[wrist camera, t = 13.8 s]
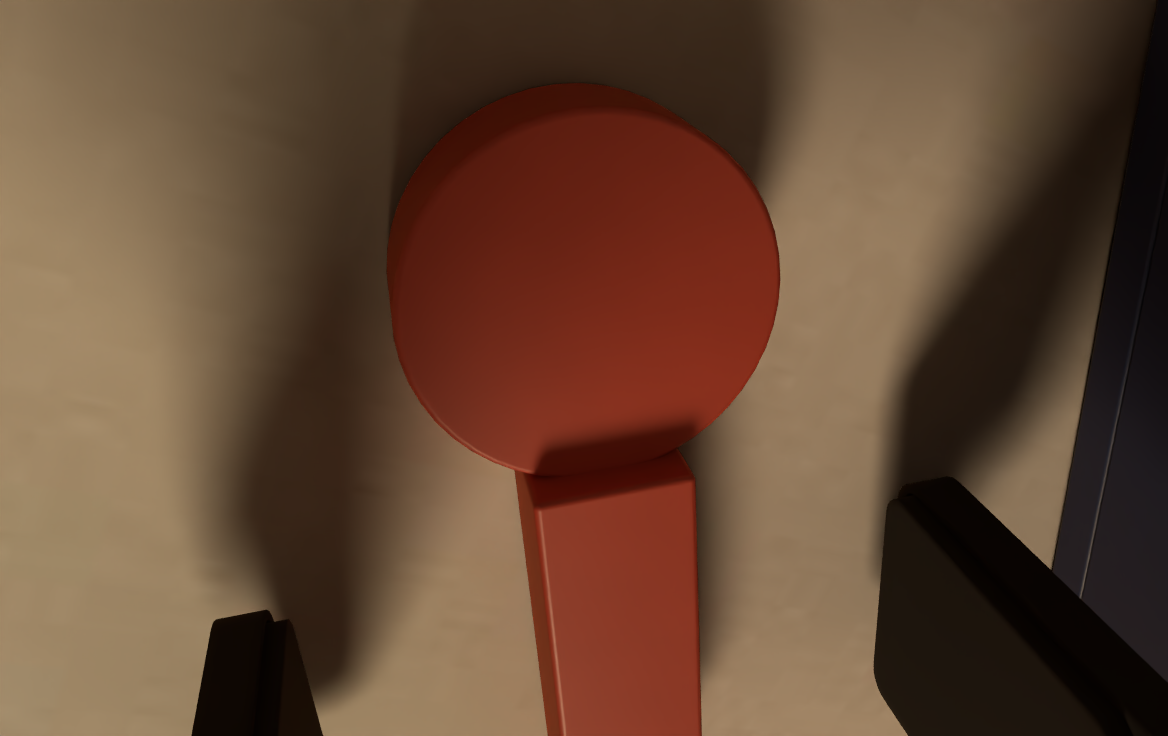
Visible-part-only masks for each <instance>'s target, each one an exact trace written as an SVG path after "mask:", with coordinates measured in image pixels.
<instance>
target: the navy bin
mask: <svg viewBox="0 0 1168 736" xmlns="http://www.w3.org/2000/svg"><path fill="white" fill-rule="evenodd" d="M1052 572H1053V573H1054V574H1055V575H1056V576H1057V577H1058V578H1059V579H1061V580H1062V581H1063V582H1064V583H1065V584H1066V585H1067V586H1068V587H1069V588H1070V589H1071V590H1072V591H1073V592H1074V593H1075V594H1076V595H1077V596H1078V597H1079V598H1080V599H1081V600H1082V601H1083V602H1084V603H1085V604H1087V605H1088V606H1089V607H1090V608H1091V609H1092V610H1093V611H1094V612H1095V613H1096V614H1097V615H1098V616H1099V617H1100V618H1101V619H1102V620H1103V621H1104V622H1105V623H1106V624H1107V625H1108V626H1109V627H1110V628H1111V629H1113V630H1114V631H1115V632H1116V633H1117V634H1118V635H1119V636H1120V637H1121V638H1122V639H1123V640H1124V641H1125V642H1126V643H1127V644H1128V645H1129V646H1130V647H1131V648H1132V649H1133V650H1134V651H1135V652H1136V653H1137V654H1139V655H1140V656H1141V657H1142V658H1143V659H1144V660H1145V661H1146V662H1147V663H1148V664H1149V665H1150V666H1151V667H1152V668H1153V669H1154V670H1155V671H1156V672H1157V673H1158V674H1159V675H1160V676H1161V677H1162V678H1163V679H1165V680H1166V681H1167V682H1168V0H1158V2H1157V7H1156V12H1155V18H1154V23H1153V29H1152V34H1151V40H1150V45H1149V50H1148V56H1147V61H1146V67H1145V72H1144V77H1143V83H1142V88H1141V94H1140V99H1139V105H1138V110H1137V115H1136V121H1135V126H1134V132H1133V137H1132V142H1131V148H1130V153H1129V159H1128V164H1127V170H1126V175H1125V180H1124V186H1123V191H1122V197H1121V202H1120V208H1119V213H1118V218H1117V224H1116V229H1115V235H1114V240H1113V245H1112V251H1111V256H1110V262H1109V267H1108V273H1107V278H1106V283H1105V289H1104V294H1103V300H1102V305H1101V310H1100V316H1099V321H1098V327H1097V332H1096V338H1095V343H1094V348H1093V354H1092V359H1091V365H1090V370H1089V375H1088V381H1087V386H1086V392H1085V397H1084V403H1083V408H1082V413H1081V419H1080V424H1079V430H1078V435H1077V440H1076V446H1075V451H1074V457H1073V462H1072V468H1071V473H1070V478H1069V484H1068V489H1067V495H1066V500H1065V505H1064V511H1063V516H1062V522H1061V527H1060V533H1059V538H1058V543H1057V549H1056V554H1055V560H1054V565H1053V571H1052Z"/></svg>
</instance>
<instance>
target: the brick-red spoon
mask: <svg viewBox="0 0 1168 736" xmlns="http://www.w3.org/2000/svg"><path fill="white" fill-rule="evenodd" d="M387 280H388V290H389V299H390V309H391V318H392V328H393V337H394V342H395V346H396V349H397V353H398V357H399V361H400V364H401V366H402V369H403V371H404V373H405V376H406V378H407V381H408V383H409V385H410V386H411V388H412V390H413V391H414V393H415V395H416V396H417V398H418V400H419V401H420V403H421V405H422V406H423V407H424V408H425V409H426V411H427V412H428V413H429V414H430V416H431V417H432V418H433V419H434V421H435V422H436V423H437V424H438V425H440V426H441V427H442V428H443V429H444V430H445V431H446V432H447V433H448V434H449V435H450V436H451V437H452V438H454V439H455V440H457V441H458V442H460V443H461V444H462V445H464V446H465V447H467V448H468V449H470V450H471V451H473V452H475V453H477V454H478V455H480V456H482V457H484V458H486V459H488V460H490V461H492V462H494V463H497V464H499V465H502V466H505V467H508V468H510V469H513V470H515V477H516V485H517V493H518V501H519V509H520V517H521V525H522V533H523V541H524V549H525V557H526V565H527V573H528V581H529V589H530V597H531V605H532V613H533V621H534V629H535V637H536V645H537V653H538V661H539V669H540V677H541V685H542V693H543V701H544V709H545V717H546V725H547V733H548V736H702V725H701V684H700V643H699V602H698V562H697V521H696V480H695V477H694V475H693V473H692V471H691V470H690V468H689V466H688V465H687V463H686V461H685V460H684V458H683V456H682V455H681V453H680V451H679V450H678V447H679V446H681V445H683V444H684V443H686V442H687V441H689V440H690V439H692V438H693V437H695V436H696V435H697V434H698V433H700V432H701V431H702V430H704V429H705V428H706V427H707V426H709V425H710V424H711V423H712V422H713V421H714V420H715V419H716V418H717V417H718V416H719V415H720V414H721V413H722V412H723V411H724V410H725V409H726V408H727V407H728V406H729V405H730V404H731V402H732V401H733V400H734V399H735V398H736V396H737V395H738V394H739V393H740V391H741V390H742V389H743V387H744V386H745V384H746V383H747V381H748V380H749V378H750V377H751V375H752V373H753V372H754V370H755V369H756V367H757V365H758V363H759V360H760V358H761V356H762V354H763V352H764V350H765V348H766V345H767V343H768V340H769V337H770V334H771V331H772V328H773V325H774V320H775V316H776V311H777V307H778V300H779V288H780V263H779V251H778V246H777V241H776V235H775V231H774V228H773V225H772V222H771V219H770V216H769V213H768V210H767V207H766V205H765V204H764V202H763V200H762V198H761V196H760V194H759V192H758V190H757V188H756V186H755V185H754V183H753V182H752V181H751V179H750V178H749V176H748V175H747V174H746V172H745V171H744V169H743V168H742V167H741V166H740V165H739V164H738V163H737V162H736V161H735V160H734V158H733V157H732V156H731V155H730V154H729V153H728V152H727V151H726V150H725V149H723V148H722V147H721V146H719V145H718V144H717V143H716V142H714V141H713V140H712V139H710V138H709V137H708V136H707V135H705V134H704V133H702V132H701V131H699V130H698V129H696V128H695V127H693V126H692V125H690V124H689V123H687V122H686V121H684V120H683V119H682V118H680V117H679V116H677V115H676V114H674V113H673V112H671V111H670V110H668V109H666V108H664V107H662V106H661V105H659V104H657V103H655V102H654V101H652V100H650V99H648V98H645V97H643V96H640V95H637V94H635V93H632V92H630V91H627V90H623V89H618V88H614V87H610V86H605V85H597V84H586V83H567V84H552V85H547V86H542V87H536V88H531V89H527V90H524V91H521V92H518V93H515V94H512V95H509V96H506V97H503V98H501V99H499V100H497V101H495V102H493V103H491V104H489V105H487V106H485V107H483V108H481V109H480V110H478V111H476V112H475V113H473V114H472V115H470V116H469V117H467V118H466V119H464V120H463V121H461V122H460V123H459V124H458V125H456V126H455V127H454V128H453V129H452V130H451V131H450V132H448V133H447V134H446V135H445V136H444V137H443V138H442V139H440V141H439V142H438V143H437V144H436V145H435V146H434V147H433V149H432V150H431V151H430V152H429V153H428V154H427V155H426V157H425V158H424V159H423V161H422V162H421V164H420V165H419V167H418V168H417V170H416V171H415V173H414V174H413V176H412V177H411V179H410V180H409V182H408V184H407V187H406V189H405V191H404V193H403V195H402V197H401V199H400V201H399V204H398V207H397V210H396V213H395V216H394V219H393V222H392V226H391V231H390V237H389V242H388V248H387Z"/></svg>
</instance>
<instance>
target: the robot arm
mask: <svg viewBox="0 0 1168 736" xmlns="http://www.w3.org/2000/svg"><path fill="white" fill-rule="evenodd" d="M874 675H875V679H876V683H877V686H878V689H879V691H880V693H881V695H882V697H883V698H884V700H885V702H886V703H887V705H888V706H889V708H890V709H891V711H892V712H893V714H894V715H895V717H896V718H897V720H898V721H899V723H900V724H901V726H902V727H903V729H904V730H905V732H906V733H907V735H908V736H1168V682H1167V681H1166V680H1165V679H1163V678H1162V677H1161V676H1160V675H1159V674H1158V673H1157V672H1156V671H1155V670H1154V669H1153V668H1152V667H1151V666H1150V665H1149V664H1148V663H1147V662H1146V661H1145V660H1144V659H1143V658H1142V657H1141V656H1140V655H1139V654H1137V653H1136V652H1135V651H1134V650H1133V649H1132V648H1131V647H1130V646H1129V645H1128V644H1127V643H1126V642H1125V641H1124V640H1123V639H1122V638H1121V637H1120V636H1119V635H1118V634H1117V633H1116V632H1115V631H1114V630H1113V629H1111V628H1110V627H1109V626H1108V625H1107V624H1106V623H1105V622H1104V621H1103V620H1102V619H1101V618H1100V617H1099V616H1098V615H1097V614H1096V613H1095V612H1094V611H1093V610H1092V609H1091V608H1090V607H1089V606H1088V605H1087V604H1085V603H1084V602H1083V601H1082V600H1081V599H1080V598H1079V597H1078V596H1077V595H1076V594H1075V593H1074V592H1073V591H1072V590H1071V589H1070V588H1069V587H1068V586H1067V585H1066V584H1065V583H1064V582H1063V581H1062V580H1061V579H1059V578H1058V577H1057V576H1056V575H1055V574H1054V573H1053V572H1052V571H1051V570H1050V569H1049V568H1048V567H1047V566H1046V565H1045V564H1044V563H1043V562H1042V561H1041V560H1040V559H1039V558H1038V557H1037V556H1036V555H1035V554H1033V553H1032V552H1031V551H1030V550H1029V549H1028V548H1027V547H1026V546H1025V545H1024V544H1023V543H1022V542H1021V541H1020V540H1019V539H1018V538H1017V537H1016V536H1015V535H1014V534H1013V533H1012V532H1011V531H1010V530H1009V529H1007V528H1006V527H1005V526H1004V525H1003V524H1002V523H1001V522H1000V521H999V520H998V519H997V518H996V517H995V516H994V515H993V514H992V513H991V512H990V511H989V510H988V509H987V508H986V507H985V506H984V505H983V504H981V503H980V502H979V501H978V500H977V499H976V498H975V497H974V496H973V495H972V494H971V493H970V492H969V491H968V490H967V489H966V488H965V487H964V486H963V485H962V484H961V483H960V482H958V481H957V480H956V479H954V478H953V477H947V476H946V477H941V478H936V479H931V480H926V481H921V482H916V483H911V484H906V485H904V486H902V488H901V489H900V491H899V494H898V498H897V499H893V500H891V501H890V502H889V503H888V506H887V511H886V522H885V534H884V546H883V558H882V570H881V582H880V594H879V606H878V618H877V630H876V642H875V654H874ZM192 736H323V734H322V731H321V727H320V723H319V719H318V716H317V712H316V708H315V705H314V701H313V697H312V694H311V690H310V686H309V683H308V679H307V675H306V672H305V668H304V664H303V661H302V657H301V653H300V650H299V646H298V642H297V639H296V635H295V631H294V628H293V625H292V622H291V621H290V620H289V619H286V620H281V621H276V622H274V620H273V617H272V615H271V613H270V611H269V610H262V611H257V612H252V613H247V614H242V615H237V616H232V617H226V618H221V619H216V620H215V621H214V622H213V624H212V628H211V632H210V638H209V643H208V649H207V654H206V660H205V665H204V671H203V676H202V681H201V687H200V692H199V698H198V703H197V709H196V714H195V719H194V725H193V730H192Z"/></svg>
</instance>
